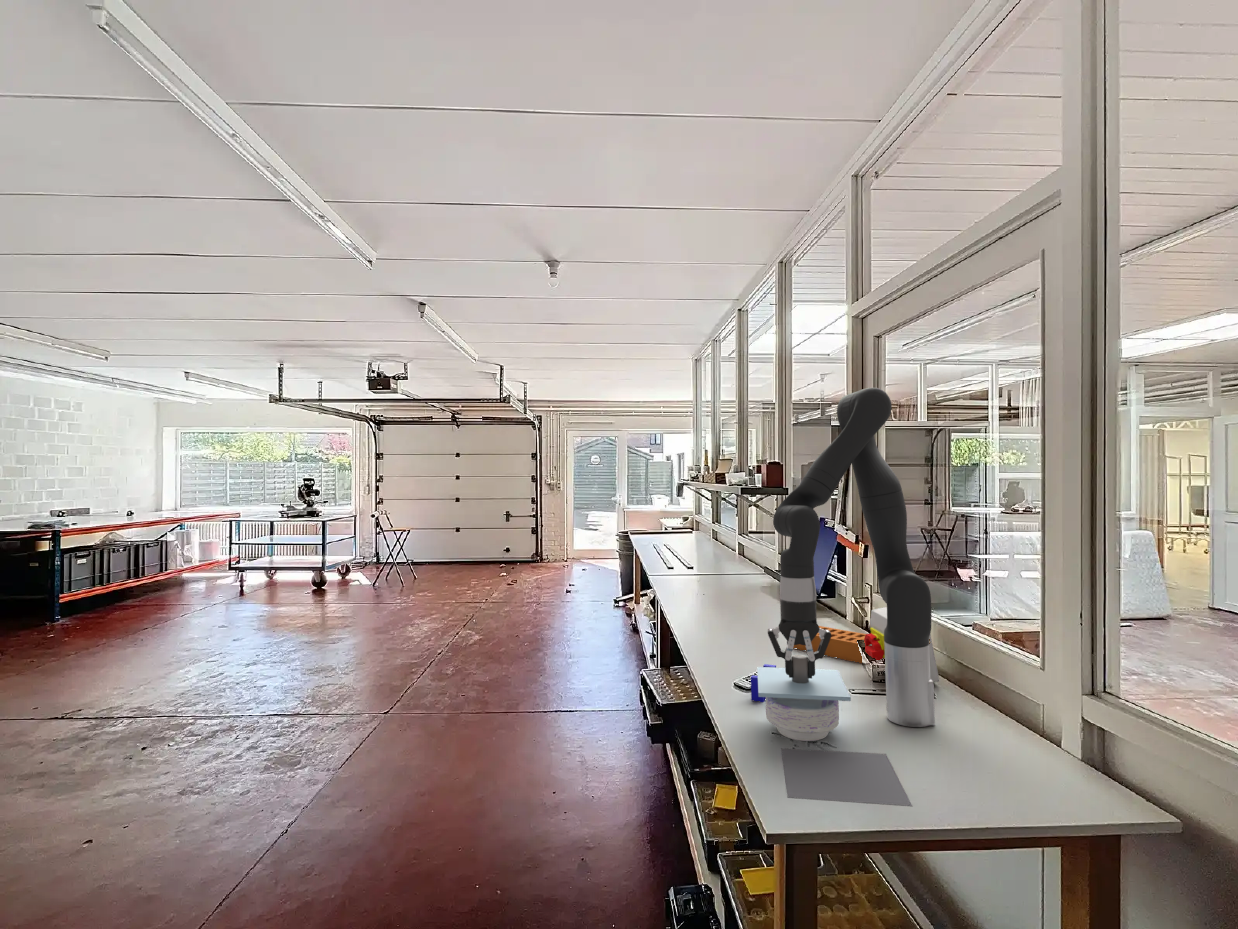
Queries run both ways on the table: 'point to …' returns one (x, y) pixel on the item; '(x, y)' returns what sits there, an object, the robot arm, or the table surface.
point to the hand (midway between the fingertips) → (800, 676)
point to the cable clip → (755, 686)
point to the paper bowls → (803, 717)
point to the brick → (839, 644)
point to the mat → (842, 777)
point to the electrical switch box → (877, 640)
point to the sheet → (802, 691)
